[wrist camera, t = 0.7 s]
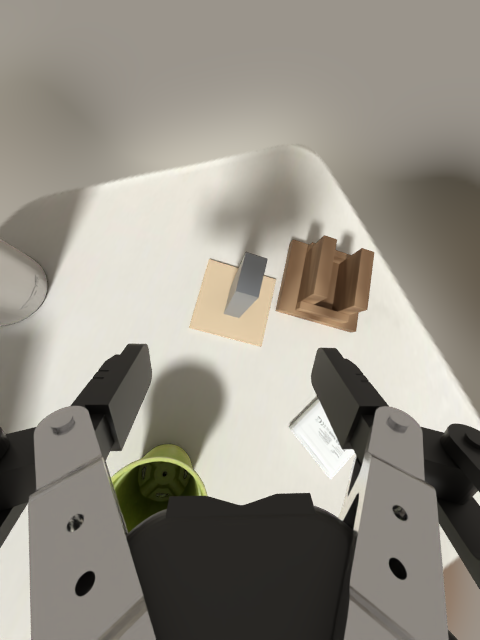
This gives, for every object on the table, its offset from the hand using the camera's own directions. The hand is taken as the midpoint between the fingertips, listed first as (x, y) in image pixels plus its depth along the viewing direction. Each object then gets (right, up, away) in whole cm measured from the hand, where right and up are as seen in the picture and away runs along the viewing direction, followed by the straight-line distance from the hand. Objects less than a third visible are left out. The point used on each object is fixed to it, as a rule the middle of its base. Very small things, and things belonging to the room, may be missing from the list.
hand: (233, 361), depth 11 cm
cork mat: (0, +4, +21) cm, 21 cm away
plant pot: (-9, -16, +16) cm, 24 cm away
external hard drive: (+14, -12, +21) cm, 28 cm away
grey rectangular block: (0, +4, +21) cm, 21 cm away
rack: (+12, +7, +24) cm, 28 cm away
